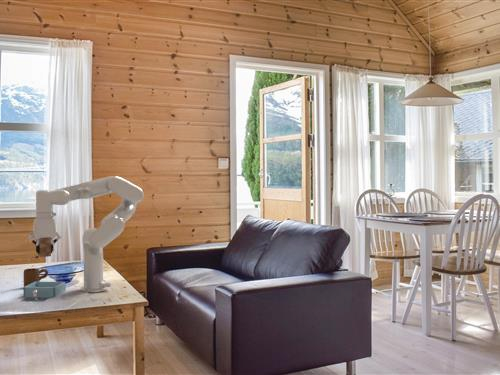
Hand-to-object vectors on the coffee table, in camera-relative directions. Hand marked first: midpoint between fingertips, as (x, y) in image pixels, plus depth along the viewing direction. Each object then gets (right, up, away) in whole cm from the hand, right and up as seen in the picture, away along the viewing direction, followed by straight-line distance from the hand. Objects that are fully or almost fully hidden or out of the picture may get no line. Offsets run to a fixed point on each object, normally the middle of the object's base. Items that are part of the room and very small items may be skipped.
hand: (44, 252), depth 245 cm
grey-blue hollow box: (0, -21, -10) cm, 24 cm away
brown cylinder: (0, -1, 0) cm, 1 cm away
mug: (-12, -21, +19) cm, 31 cm away
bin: (0, -21, +1) cm, 21 cm away
